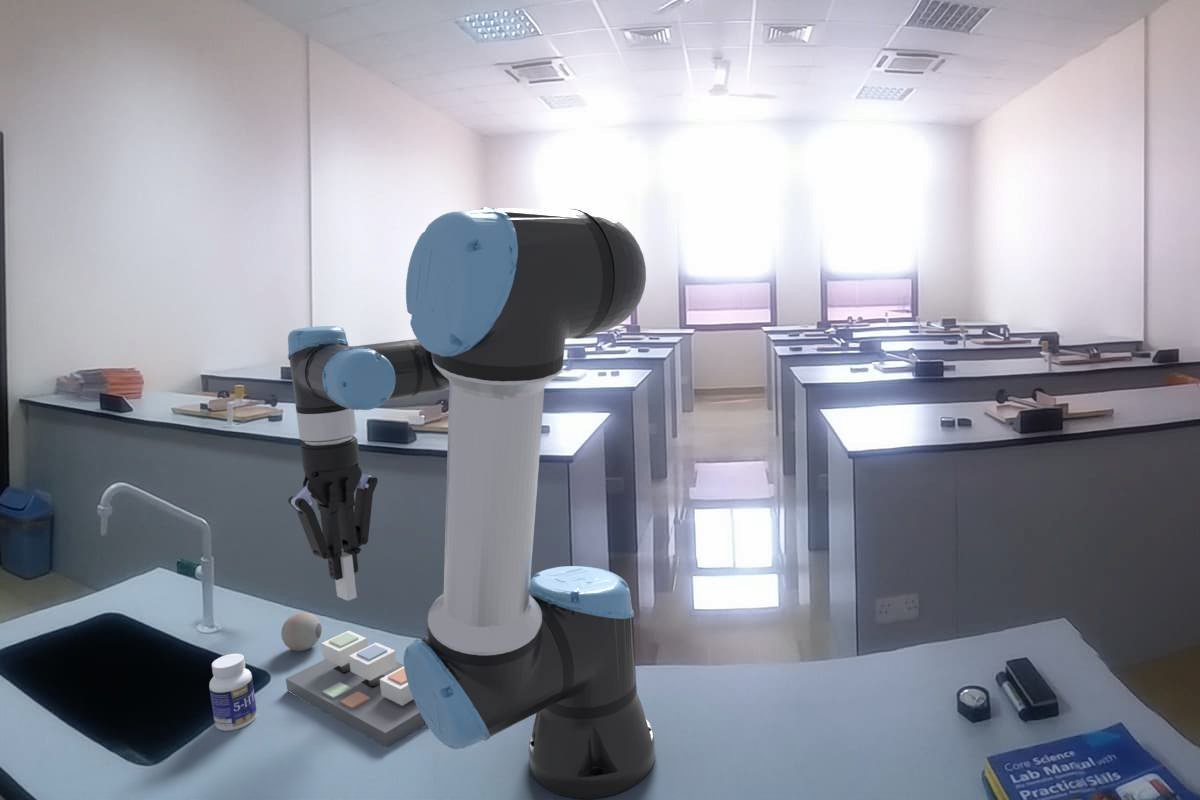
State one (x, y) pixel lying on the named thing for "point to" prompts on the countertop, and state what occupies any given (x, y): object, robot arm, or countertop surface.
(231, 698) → the pill bottle
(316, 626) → the eyeball
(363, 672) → the white boxy piece
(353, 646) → the key sage
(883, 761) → the countertop surface
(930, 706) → the countertop surface
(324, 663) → the keypad board
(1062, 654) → the countertop surface
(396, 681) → the key terracotta
